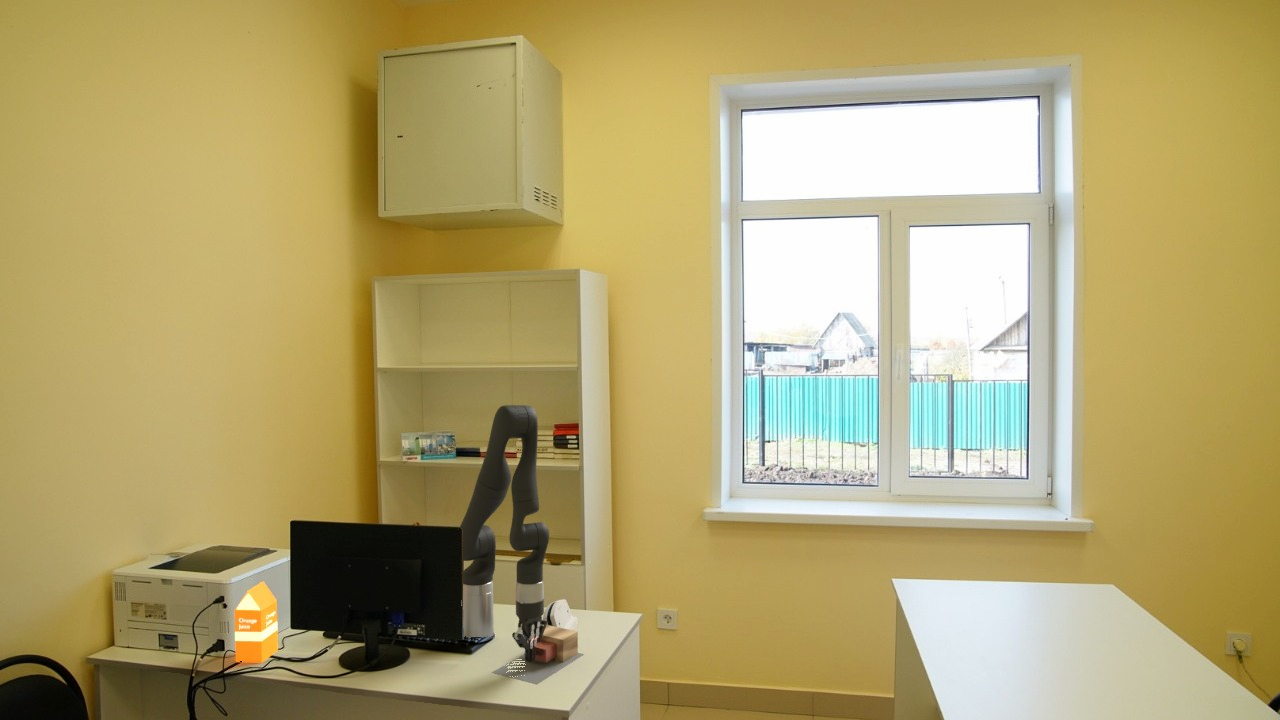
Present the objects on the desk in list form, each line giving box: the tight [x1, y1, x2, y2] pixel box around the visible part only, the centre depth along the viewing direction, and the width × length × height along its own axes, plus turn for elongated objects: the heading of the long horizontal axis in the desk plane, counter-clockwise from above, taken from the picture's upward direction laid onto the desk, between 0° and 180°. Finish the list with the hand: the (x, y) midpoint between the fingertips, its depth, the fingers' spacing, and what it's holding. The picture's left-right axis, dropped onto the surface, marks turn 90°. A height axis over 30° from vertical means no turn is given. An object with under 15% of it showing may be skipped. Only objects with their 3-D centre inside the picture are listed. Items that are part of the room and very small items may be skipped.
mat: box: [491, 652, 585, 685], centre depth 223 cm, size 15×22×1 cm
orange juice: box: [234, 581, 279, 664], centre depth 229 cm, size 8×9×20 cm
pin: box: [535, 640, 557, 663], centre depth 228 cm, size 15×7×5 cm, turn 150°
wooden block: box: [541, 625, 579, 663], centre depth 229 cm, size 11×7×6 cm, turn 60°
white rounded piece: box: [542, 598, 580, 631], centre depth 246 cm, size 17×5×10 cm, turn 171°
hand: (530, 660), depth 219 cm, fingers closed
